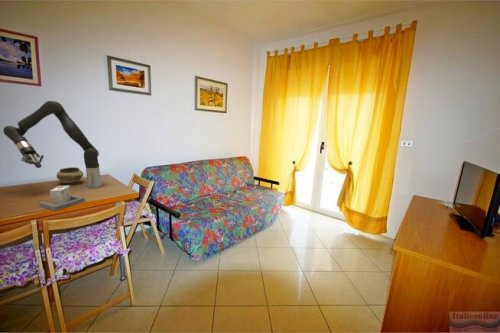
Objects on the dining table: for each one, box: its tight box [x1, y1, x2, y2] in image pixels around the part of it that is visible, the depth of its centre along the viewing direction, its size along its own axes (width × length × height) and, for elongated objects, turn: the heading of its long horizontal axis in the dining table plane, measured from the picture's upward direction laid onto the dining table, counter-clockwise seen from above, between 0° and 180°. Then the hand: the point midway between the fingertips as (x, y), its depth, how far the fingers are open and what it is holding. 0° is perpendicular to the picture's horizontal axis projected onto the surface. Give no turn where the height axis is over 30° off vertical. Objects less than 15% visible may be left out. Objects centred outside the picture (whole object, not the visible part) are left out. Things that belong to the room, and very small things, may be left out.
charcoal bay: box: [38, 194, 86, 211], centre depth 148 cm, size 18×16×2 cm
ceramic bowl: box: [56, 166, 84, 185], centre depth 189 cm, size 24×18×15 cm
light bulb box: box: [49, 185, 72, 205], centre depth 149 cm, size 11×7×11 cm, turn 13°
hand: (39, 167), depth 155 cm, fingers closed
